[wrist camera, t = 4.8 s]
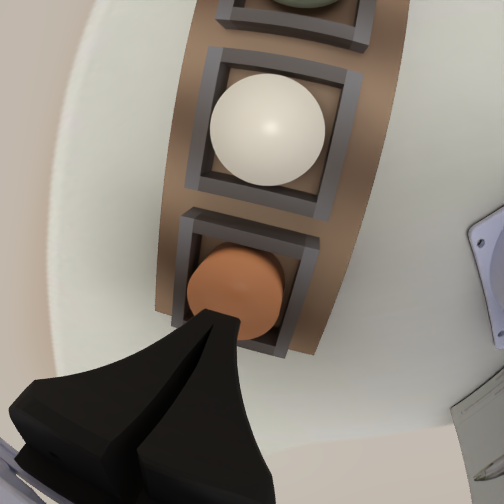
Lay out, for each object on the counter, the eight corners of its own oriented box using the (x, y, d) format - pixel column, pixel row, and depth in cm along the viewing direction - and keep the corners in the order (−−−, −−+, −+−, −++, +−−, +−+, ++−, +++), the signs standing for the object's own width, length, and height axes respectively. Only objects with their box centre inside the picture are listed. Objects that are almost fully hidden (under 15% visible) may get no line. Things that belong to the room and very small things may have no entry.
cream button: (234, 74, 12) (221, 66, 10) (332, 93, 11) (335, 87, 9) (217, 165, 13) (201, 173, 11) (311, 187, 13) (310, 197, 11)
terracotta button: (207, 230, 14) (191, 246, 13) (294, 252, 14) (290, 272, 12) (198, 303, 16) (183, 325, 14) (274, 324, 16) (268, 349, 14)
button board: (230, -59, 10) (211, -91, 7) (404, -30, 9) (421, -60, 6) (169, 293, 19) (143, 325, 16) (314, 333, 18) (312, 374, 15)
